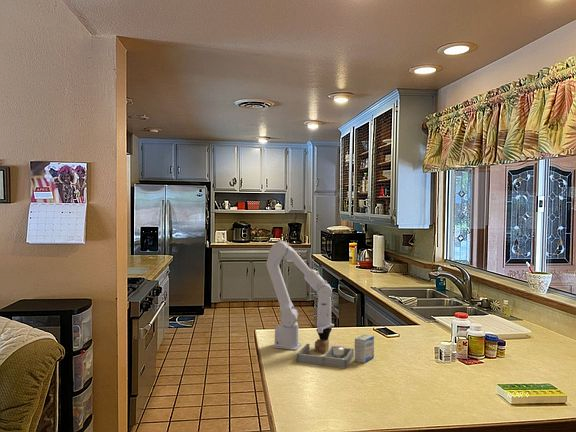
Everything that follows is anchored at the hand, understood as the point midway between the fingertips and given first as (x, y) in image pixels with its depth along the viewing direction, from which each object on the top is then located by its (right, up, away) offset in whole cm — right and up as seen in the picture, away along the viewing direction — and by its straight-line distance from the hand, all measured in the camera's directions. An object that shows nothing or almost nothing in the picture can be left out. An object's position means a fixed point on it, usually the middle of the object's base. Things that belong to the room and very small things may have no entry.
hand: (324, 345), depth 188 cm
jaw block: (-1, -1, -4) cm, 4 cm away
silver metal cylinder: (+4, -1, -15) cm, 16 cm away
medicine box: (+14, -2, -13) cm, 20 cm away
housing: (0, -1, -13) cm, 13 cm away
